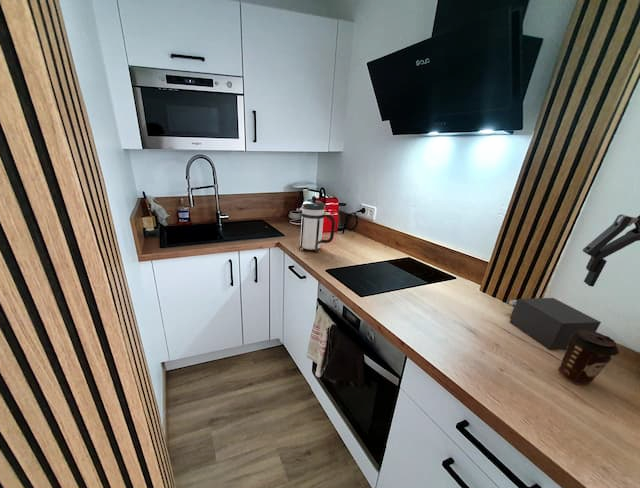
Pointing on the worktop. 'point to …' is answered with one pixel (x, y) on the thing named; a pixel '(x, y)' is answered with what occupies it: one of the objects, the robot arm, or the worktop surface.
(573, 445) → the worktop surface
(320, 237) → the coffee press
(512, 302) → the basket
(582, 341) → the coffee cup
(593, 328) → the dark grey low box
